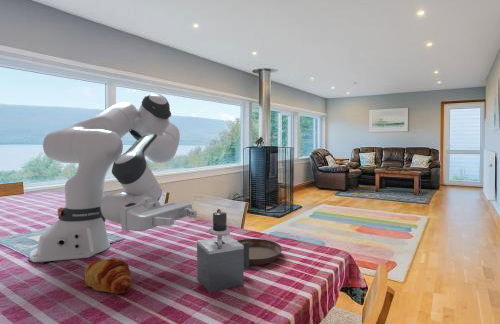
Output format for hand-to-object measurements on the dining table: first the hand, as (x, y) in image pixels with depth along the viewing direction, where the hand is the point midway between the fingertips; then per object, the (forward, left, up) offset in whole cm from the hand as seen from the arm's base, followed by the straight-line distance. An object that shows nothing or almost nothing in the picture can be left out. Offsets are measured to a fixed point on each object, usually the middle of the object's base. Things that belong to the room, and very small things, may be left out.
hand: (184, 218), depth 85 cm
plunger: (+7, -8, -13) cm, 17 cm away
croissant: (-18, +3, -16) cm, 24 cm away
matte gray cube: (+8, -8, -15) cm, 19 cm away
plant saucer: (+23, +4, -16) cm, 28 cm away
